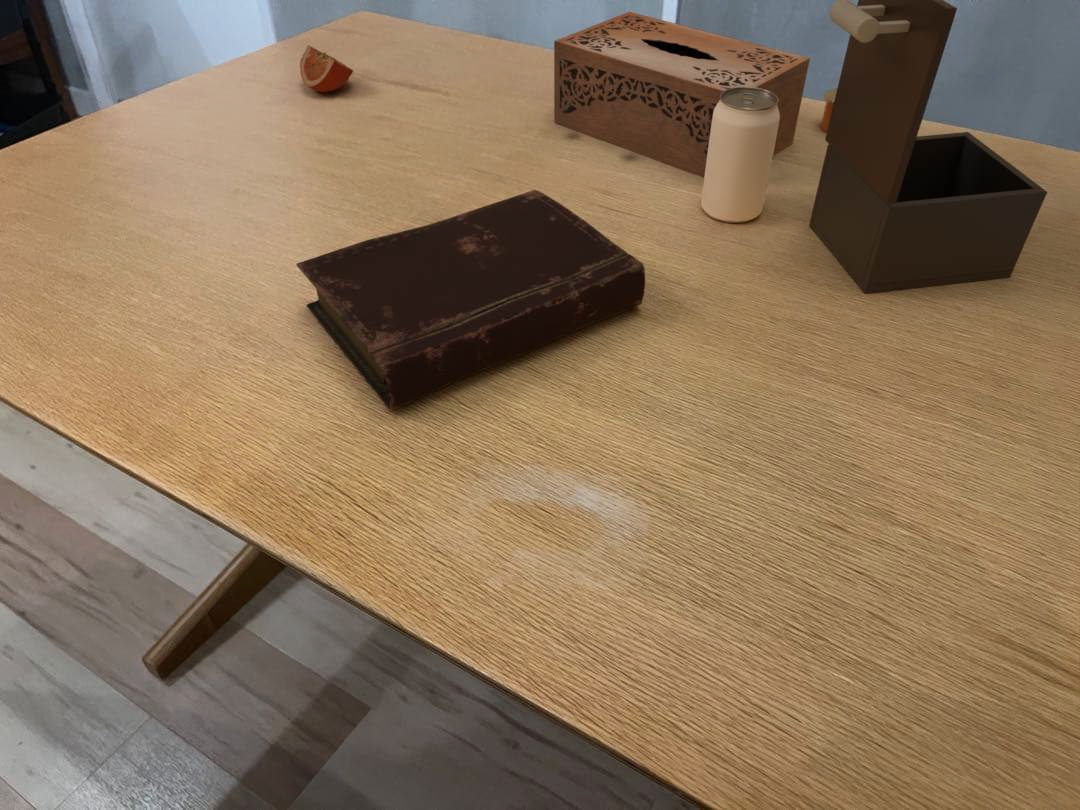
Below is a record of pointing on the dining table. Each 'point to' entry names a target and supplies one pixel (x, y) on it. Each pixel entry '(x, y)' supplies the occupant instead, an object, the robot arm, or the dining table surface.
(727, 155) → the can
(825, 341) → the dining table surface
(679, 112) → the tissue box cover
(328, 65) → the fruit slice
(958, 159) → the dark brown storage bin
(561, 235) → the diary
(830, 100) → the cylinder
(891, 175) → the lid
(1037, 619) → the dining table surface
